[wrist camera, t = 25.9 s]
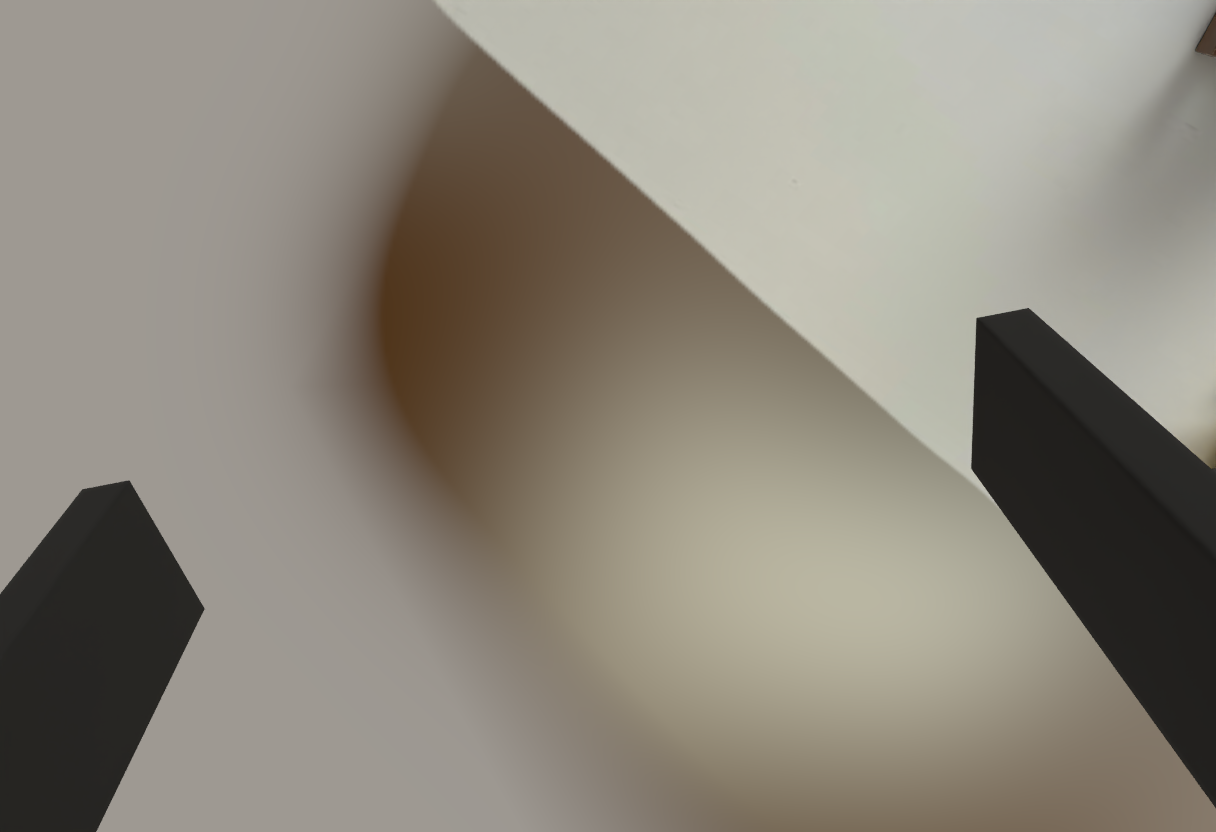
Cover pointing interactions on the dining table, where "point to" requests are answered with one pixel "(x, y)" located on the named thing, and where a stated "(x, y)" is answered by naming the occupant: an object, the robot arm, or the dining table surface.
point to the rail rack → (1209, 40)
